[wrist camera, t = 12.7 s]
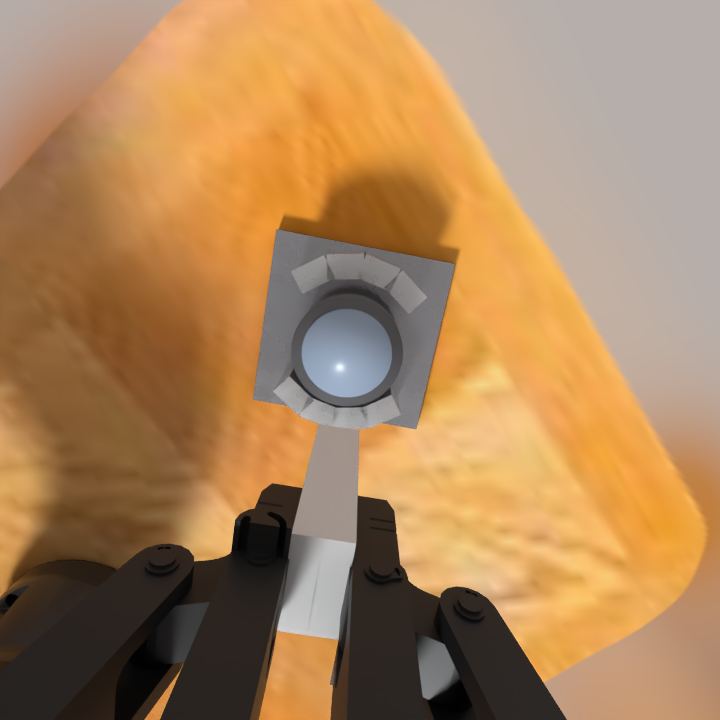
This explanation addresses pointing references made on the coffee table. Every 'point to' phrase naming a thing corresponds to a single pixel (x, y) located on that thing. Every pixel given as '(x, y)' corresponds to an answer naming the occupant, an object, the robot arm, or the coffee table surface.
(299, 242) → the grey square base
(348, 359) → the grey cylinder
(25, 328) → the coffee table surface
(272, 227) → the coffee table surface
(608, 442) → the coffee table surface
